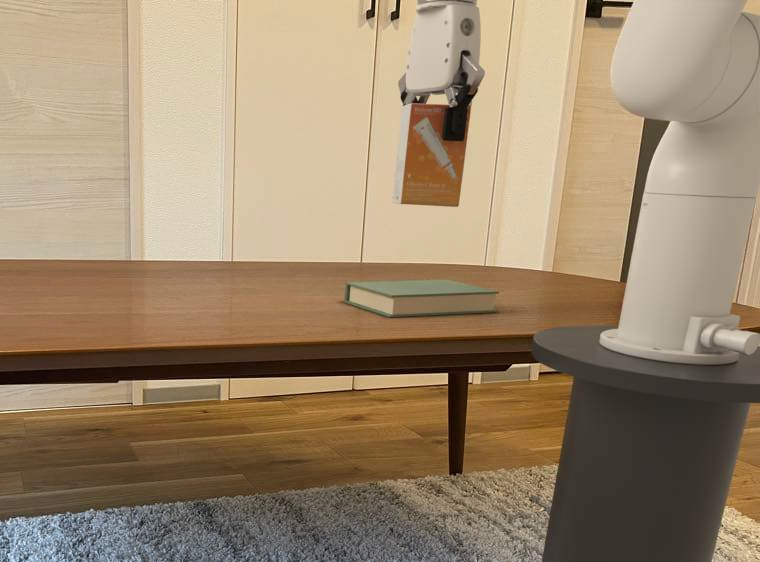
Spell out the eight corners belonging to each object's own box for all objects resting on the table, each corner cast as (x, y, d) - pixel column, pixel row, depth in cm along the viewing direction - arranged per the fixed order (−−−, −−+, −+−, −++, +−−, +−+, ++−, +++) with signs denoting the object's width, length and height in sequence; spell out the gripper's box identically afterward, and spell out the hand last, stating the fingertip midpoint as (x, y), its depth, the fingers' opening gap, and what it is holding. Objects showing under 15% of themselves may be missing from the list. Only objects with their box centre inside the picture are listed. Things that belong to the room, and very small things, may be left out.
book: (496, 312, 111) (499, 291, 110) (389, 317, 104) (392, 295, 104) (443, 298, 122) (445, 279, 121) (344, 302, 115) (345, 282, 114)
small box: (400, 205, 105) (410, 102, 101) (391, 203, 111) (400, 106, 107) (460, 207, 105) (472, 104, 101) (448, 205, 111) (459, 107, 107)
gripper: (517, -10, 94) (497, 141, 99) (429, 12, 109) (416, 143, 115) (468, -18, 91) (450, 139, 97) (384, 7, 107) (373, 141, 112)
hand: (431, 140), depth 106 cm, fingers closed on small box, 8 cm apart
